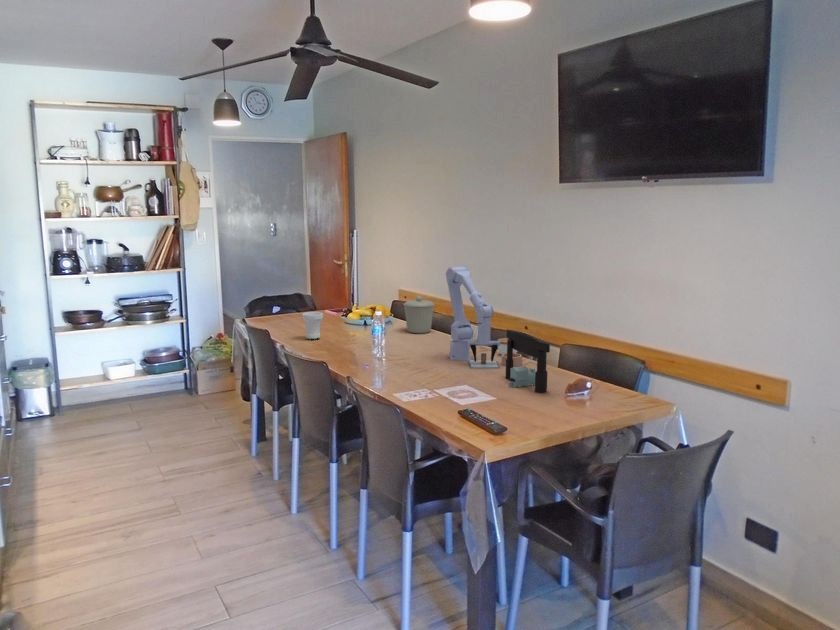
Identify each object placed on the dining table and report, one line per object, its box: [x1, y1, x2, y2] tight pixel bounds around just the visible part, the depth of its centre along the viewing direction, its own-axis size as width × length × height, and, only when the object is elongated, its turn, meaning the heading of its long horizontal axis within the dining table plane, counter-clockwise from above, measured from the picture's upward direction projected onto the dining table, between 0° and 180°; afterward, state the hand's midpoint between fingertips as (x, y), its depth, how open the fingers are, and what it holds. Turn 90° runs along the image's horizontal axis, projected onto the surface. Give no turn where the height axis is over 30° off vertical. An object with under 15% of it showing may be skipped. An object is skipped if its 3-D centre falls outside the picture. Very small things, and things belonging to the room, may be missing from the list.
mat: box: [466, 360, 501, 370], centre depth 302 cm, size 14×14×1 cm
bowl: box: [500, 353, 523, 368], centre depth 303 cm, size 9×9×4 cm
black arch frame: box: [505, 328, 551, 393], centre depth 269 cm, size 16×21×33 cm
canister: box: [403, 295, 436, 334], centre depth 379 cm, size 18×18×21 cm
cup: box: [301, 311, 324, 340], centre depth 359 cm, size 11×11×14 cm
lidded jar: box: [496, 337, 519, 355], centre depth 321 cm, size 11×11×9 cm
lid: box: [468, 352, 499, 369], centre depth 302 cm, size 12×12×5 cm
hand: (483, 361), depth 302 cm, fingers open, 7 cm apart
